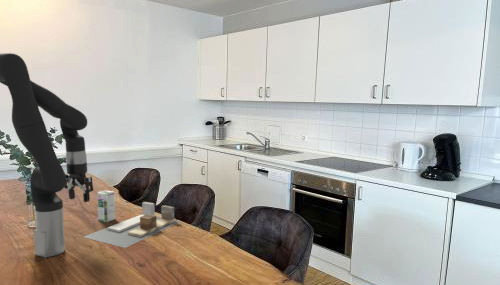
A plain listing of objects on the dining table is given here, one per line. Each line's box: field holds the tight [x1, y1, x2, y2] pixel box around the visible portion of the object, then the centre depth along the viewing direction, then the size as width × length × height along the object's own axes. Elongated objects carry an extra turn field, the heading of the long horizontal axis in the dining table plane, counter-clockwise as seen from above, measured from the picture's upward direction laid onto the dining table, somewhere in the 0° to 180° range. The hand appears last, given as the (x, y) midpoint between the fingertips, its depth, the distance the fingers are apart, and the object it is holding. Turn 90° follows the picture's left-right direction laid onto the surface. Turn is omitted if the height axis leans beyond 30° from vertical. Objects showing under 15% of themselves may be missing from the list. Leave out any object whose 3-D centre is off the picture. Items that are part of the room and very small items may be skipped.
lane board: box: [83, 214, 182, 249], centre depth 167 cm, size 36×24×1 cm, turn 154°
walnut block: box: [140, 214, 157, 230], centre depth 165 cm, size 5×5×5 cm
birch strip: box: [128, 205, 177, 237], centre depth 168 cm, size 24×7×7 cm, turn 154°
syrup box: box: [97, 190, 116, 223], centre depth 178 cm, size 6×6×14 cm
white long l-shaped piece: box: [108, 201, 157, 232], centre depth 173 cm, size 24×7×7 cm, turn 154°
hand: (79, 200), depth 152 cm, fingers open, 8 cm apart
